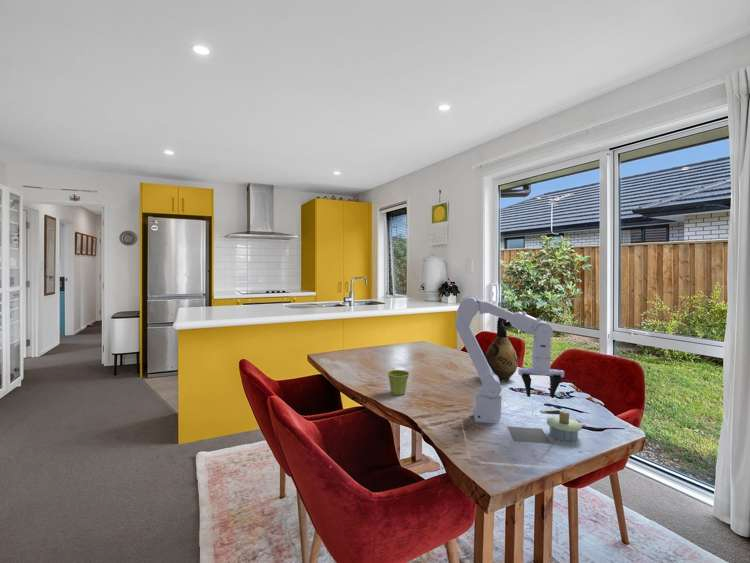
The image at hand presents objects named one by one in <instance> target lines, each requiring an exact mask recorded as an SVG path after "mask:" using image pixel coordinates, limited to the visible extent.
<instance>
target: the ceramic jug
mask: <svg viewBox="0 0 750 563" xmlns="http://www.w3.org/2000/svg"><path fill="white" fill-rule="evenodd" d="M511 328H512V325H511V322H510V321H508V320H505V319H503V318H500V317H497V323H496V337H495V339H494V340H493V341H492V343H491V344H490V345H489V347H488V348H487V350H486V352H485V353H484V356H485V358H486V360H487V362H488V364H489V366H490V367H491V369H492V371H493V373H494V374H496V375H497V376H498V377H499V380H500V382H508V381H510V379H511V377H512V376H514V375H515V373H516V371H517V370H518V365H519V364H518V363H519V361H518V360H519V359H518V356H517V353H516V349H515V348H514V346H513V344H512V342H511V340H510V339H509V337H508V336H507V334H508V333H507V330H509V329H511Z"/></svg>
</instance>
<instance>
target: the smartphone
mask: <svg viewBox="0 0 750 563" xmlns="http://www.w3.org/2000/svg"><path fill="white" fill-rule="evenodd" d="M560 411H561V410H560V409H557V408H552V409H551V408H549V409H540V413H543V414H546V415H558V416H559V414H560ZM575 420H576V421H578V422H579V423H581V425H582V427H586V423H584V422H582V421H580V420H578V419H576V418H575Z"/></svg>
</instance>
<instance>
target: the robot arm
mask: <svg viewBox="0 0 750 563" xmlns="http://www.w3.org/2000/svg"><path fill="white" fill-rule="evenodd" d="M456 313H457V314H456V319H455V324H454V326H455V328H456V331H457V333H458V335H459V338H460V339H461V340H462V344H463V345H464V348H465V349H466V351H467V353H468V356H469V357H470V359H471V361H472V363H473V366H474V368H475V370H476V372H477V375H478V378H479V379H480V382H481V390H480V391H479V393H475V394H473V405H472V406H473V410H472V415H473V418H474V421H475V423H486V424H487V423H488V424H502V425H503V424H504V420H503V419H502V400H503V399H502V398H503V397H502V393H501V392H502V387H501V381H500V380H499V377H498V376H497V375H496V374H494V373H493V371H492V369H491V367H490V366H489V364H488V362H487V360H486V358H485V353H484V352H483V350H482V348H481V346H480V344H479V342H478V340H477V338H476V335H475V334H474V332H473V329H472V328H471V324H472V321H473V318H474V317H475V316H476V315H477V314H478V313H479V315H482V314H483V315H484V314H490V315H492V316H495V317H497V318H499V317H500V318H503V319H505V320H507V322H508V321H510V323H511V328H512V327H513V328H515V329H517V330H520V331H522V332H523V333H526V334H529V335H533V340H532V356H531V357H532V362H531V367H524V368H523V367H517V373H518V375H519V376H520V377H521V378H522V381H523V384H524V387H525V393H526V396H527V398H531V387H532V386H531V385H532V378H531V376H543V377H549V384H550V385H549V388H550V389H549V397H550V398H551V399H554V398H555V395H556V391H557V389H558V387H559V385H560V384H561V382H562V380H563V378H564V377H565V371H564V370H563V369H554V368H551V352H552V339H551V338H552V337H553V335H554V331H553V328H552V326H551V325H550V324H549V323H548V322H547V321H544V320H541V318H539V317H536V318H535V317H533V316H531V315H528V314H527V312H526V311H516V312H512V311H510V310H508V309H505V308H503V307H501V306H498V305H497V304H494V303H492V302H490V301H488V300H485V299H481V298H476V297H474V296H472V295H471V296H470V295H469V296H465V297H464V298H463V299H462V301H461V302H460V304H459V305H458V308H457V312H456Z"/></svg>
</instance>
